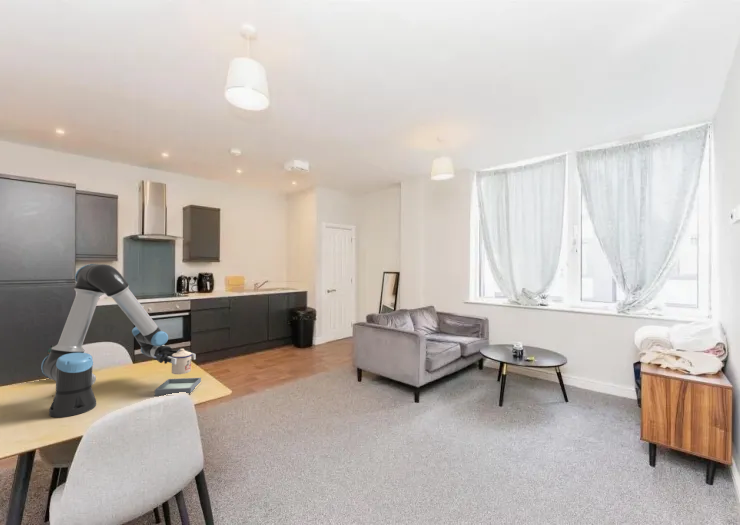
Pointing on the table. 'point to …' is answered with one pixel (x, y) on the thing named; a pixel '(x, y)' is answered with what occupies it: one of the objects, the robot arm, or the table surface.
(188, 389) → the tray
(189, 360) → the teacup with lid
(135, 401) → the table surface
